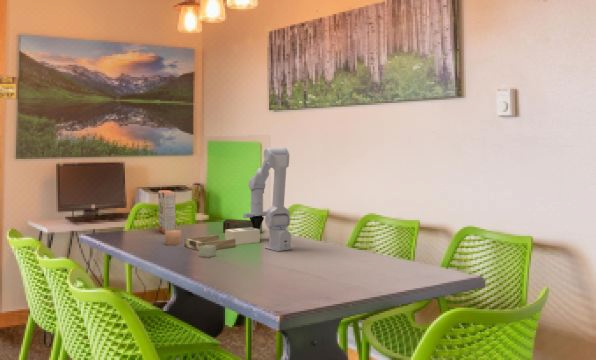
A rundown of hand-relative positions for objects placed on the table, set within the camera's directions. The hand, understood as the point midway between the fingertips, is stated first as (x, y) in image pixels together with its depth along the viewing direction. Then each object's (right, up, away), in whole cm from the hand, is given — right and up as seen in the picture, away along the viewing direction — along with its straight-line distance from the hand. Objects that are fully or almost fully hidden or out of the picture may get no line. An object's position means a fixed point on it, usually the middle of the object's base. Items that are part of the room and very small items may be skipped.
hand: (256, 232), depth 272 cm
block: (-37, -4, -11) cm, 39 cm away
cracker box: (-47, -2, +20) cm, 51 cm away
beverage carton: (-9, -3, +23) cm, 25 cm away
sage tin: (-18, -7, -36) cm, 41 cm away
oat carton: (-6, -4, -6) cm, 9 cm away
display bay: (-19, -5, -16) cm, 26 cm away
